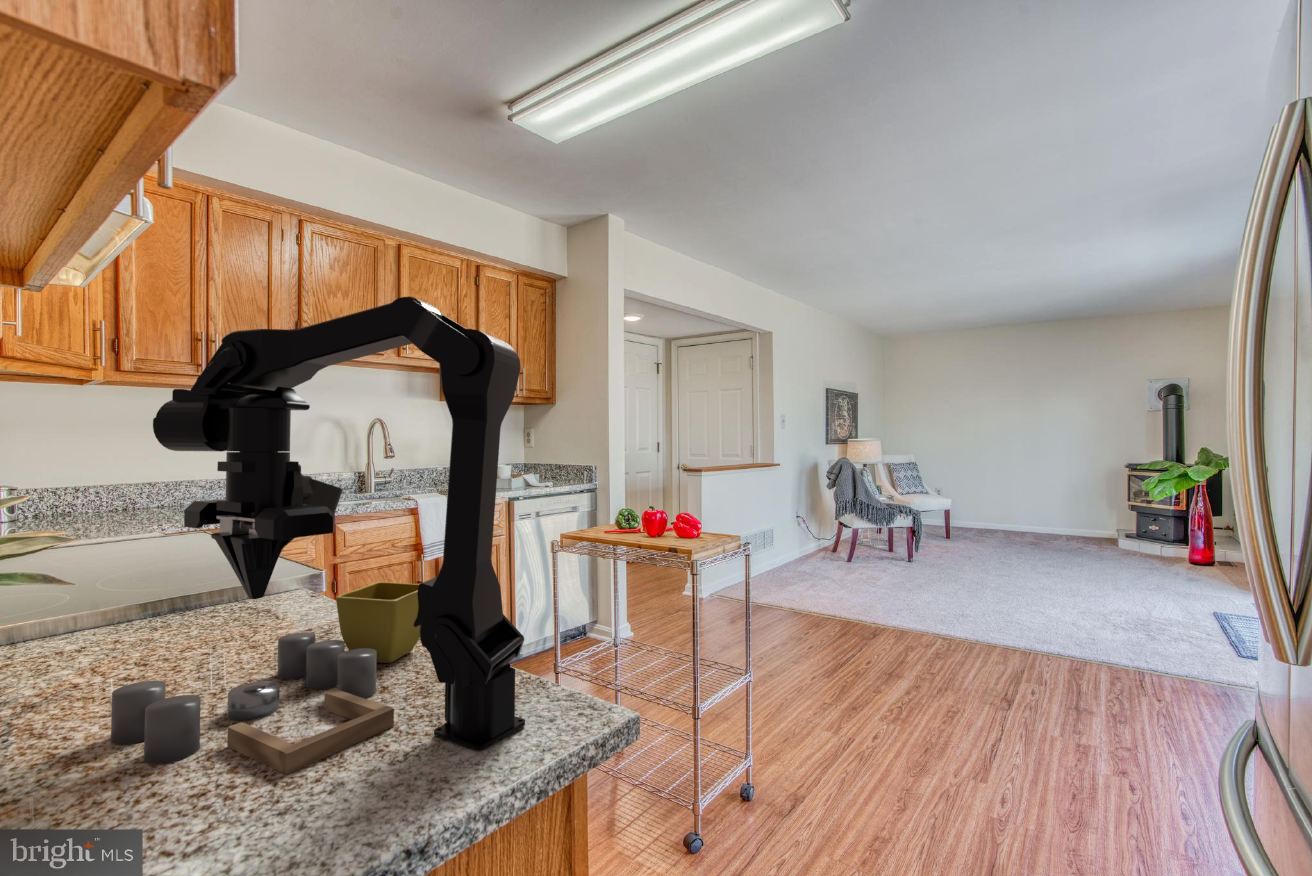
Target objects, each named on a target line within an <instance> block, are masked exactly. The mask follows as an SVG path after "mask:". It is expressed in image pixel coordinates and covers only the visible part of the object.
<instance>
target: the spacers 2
mask: <svg viewBox="0 0 1312 876" xmlns="http://www.w3.org/2000/svg"><path fill="white" fill-rule="evenodd" d="M345 650H346V644H345V642H344V640H340V639H329V640H328V639H327V640H321V641H316V633H315V632H308V631H307V632H306V631H305V632H304V631H303V632H294V633H289V634H286V635H282V636H281V637H278V640H277V678H278V679H279V680H284V681H285V680H286V681H287V680H291V681H292V680H298V679H303V678H305V688H307V689H308V690H313V691H319V690H327V689H331V688H334V687H337V688H336V689H337V690H340V691H343V692H346V693H349V694H352V695H355V696H358V697H361V698H364V699H367V698H369V697H372V696H373V695H374V694H375V693H376V692H377V662H376V657H377V651H376V650H374V649H370V648H360V649H353V650H349V649H348V650H346V651H345Z"/></svg>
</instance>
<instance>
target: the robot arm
mask: <svg viewBox="0 0 1312 876" xmlns="http://www.w3.org/2000/svg"><path fill="white" fill-rule="evenodd" d="M412 344H413V345H414V346H415V347H416V348H417V349H418V350H419V351H421V352H422V353H423V354H425V355H426V356H427V357H429V358H430V359H432V360H434V361H436V362H437V363H439V364H438V365H439V373H440V374H439V376H440V386H441V387H440V388H441V392H442V395H443V397H444V400H445V403H446V407H447V409H448V412H449V414H450V417H451V422H452V427H451V429H452V430H451V438H450V439H451V440H450V453H449V454H450V456H449V458H450V459H449V468H448V481H447V483H448V485H447V496H446V497H447V499H446V510H445V511H446V513H445V526H444V541H443V552H442V553H443V554H442V563H441V567H440V569H439V571H438V573H437V576H435V577H433V578H430V579H429V580H428V579H427V580H425V581H424V582H421V583H418V584H419V587H418V593H417V595H418V614H417V618H416V620H415V622H414V627H417V626H419V625H420V638H419V639H420V643H421V646H422V647H423V648H425V649H426V650H427V651H428V653H429V655H430V658H431V662H432V664H433V668H434V671H435V675H436V677H437V681H438V682H439V683H442V684H445V685H444V686H445V687H444V689H445V691H444V722H446V723H443V724H442V725H440V726H438V727H436V728H434V729H433V735H434V736H435V737H438V738H440V739H443V740H447V741H449V742H451V743H455V744H458V745H460V746H464V747H466V748H469V749H472V750H475V751H482V750H485V749H487V748H488V747H490V746H492V745H493V744H495V743H497V742H498V741H500V740H503V739H504V738H505V737H508V736H510V734H512V733H515V732H516V731H518V730H520V729H521V728H523V727H525V725H526V719H525V718H523V717H518V716H515V715H516V712H515V711H516V668H515V667H511V663H510V662H511V661H512V660H513V659H515V658H517V657H518V656H519V655H520V653H521V651H522V648H523V645H524V642H525V636H524V635H523V634H522V633H521V632H520V631H519V630H518V629H517V628H516V627H515V625H514V624H513V623H512V622H511V620H510V619H509V618H508V617H507V616H506V615H505V614H504V612H503V601H502V592H501V590H502V588H501V584H500V582H499V579H498V577H497V574H496V571H495V569H494V566H493V561H492V555H493V553H492V552H493V541H494V540H493V538H494V526H495V525H494V523H495V514H496V513H495V511H496V500H497V499H496V498H497V497H496V496H497V485H498V483H497V481H498V472H499V471H498V469H499V455H500V440H501V427H502V423H503V421H504V419H505V417H506V416H507V413H508V411H509V409H510V407H511V404H512V403H513V401H514V397H515V394H516V391H517V387H518V381H519V378H520V373H521V359H520V357H519V354H518V353H517V351H516V350H515V349H514V348H513V346H512V345H510V344H509V343H507V342H505V340H504V341H503V340H501V339H499V338H497V337H494V336H492V335H490V334H487V333H485V332H484V331H481V330H478V329H472V328H467V327H465V326H463V325H461V324H459V323H458V322H456V321H454V320H452V319H451V318H449V317H448V316H446V315H445V314H443V313H442V312H440V310H439V309H438V308H437V307H435V306H434V305H432V304H430V303H427V302H425V301H422V300H421V299H419V298H416V297H413V296H401V297H398V298H396V299H395V300H393V301H392V302H390V303H386V304H383V305H379V306H375V307H371V308H368V309H364V310H361V311H357V312H353V313H350V314H345V315H343V316H342V315H341V316H340V317H336V318H332V319H329V320H325V321H321V322H319V323H318V322H317V323H315V324H310V325H307V326H304V327H303V326H302V327H300V328H291V329H290V328H289V329H282V328H281V329H278V328H256V329H255V328H254V329H245V330H244V329H243V330H235V331H231V332H230V333H228V334H225V336H223V337H222V338H221V344H220V345H219V347H218V348H217V350H216V351H215V352H214V354H213V355H212V357H211V358H210V360H209V361H208V362H207V365H206V366H205V367H204V369H203V371H201V373H200V375H199V376H197V378H196V381H195V383H194V384H193V385H192V387H191V389H185V388H174V389H172V393H171V394H172V397H171V400H169V401H167V402H165V403H164V404H163V405H161V406H160V408H159V409H158V411H157V412H156V415H155V417H154V418H153V419H152V429H153V433H154V436H155V438H156V441H158V443H159V444H160V445H162V446H163V447H164V448H165V449H167V450H170V451H173V452H226V455H225V457H226V461H225V460H224V461H217V468H216V469H217V472H225V498H224V499H209V500H208V499H207V500H194V501H192V502H191V504H189V505H188V506H187V507H186V508H185V509H184V515H183V517H184V518H183V519H184V520H183V521H184V522H183V527H184V528H192V529H202V528H203V526H208V525H209V526H210V525H218V524H219V532H213V533H210V537H211V539H213V540H215V542H216V543H217V545H218V547H219V548H220V550H221V552H222V553H223V555H224V557H225V558H226V560H227V562H228V563H229V565H230V567H231V568H232V570H233V572H234V573H235V575H236V577H237V580H238V582H240V584H241V586H242V589H243V590H244V591H245V594H246V596H247V597H248V598H249V599H251V600H259V599H262V598H263V597H264V596H265V594H266V590H267V589H268V586H269V583H270V581H271V578H272V575H273V572H274V570H275V567H276V564H277V562H278V560H279V557H280V555H281V553H282V551H283V549H284V548H285V547H287V546H288V544H290V543H291V542H292V541H293V540H295V539H297V538H298V539H299V538H306V537H312V536H320V535H329V534H334V533H335V532H336V511H337V507H338V505H339V502H340V500H341V496H342V493H343V490H344V489H343V488H342V487H338V486H336V485H333V484H329V483H326V482H323V481H321V480H317V479H314V478H313V477H312V476H310V475H303V473H302V466H301V464H299V461H293V460H291V418H292V416H291V415H292V414H291V413H292V411H308V410H309V409H310V408H311V406H310V404H309V403H308V402H307V401H306V400H305V399H303V398H302V397H301V396H300V395H299V394H298V393H297V392H296V390H295V389H294V388H295V387H297V386H299V385H302V384H304V383H306V382H309V381H310V380H312V378H314V376H315V375H316V374H317V373H318V372H319V371H321V370H323V369H325V368H327V367H329V366H330V367H331V366H333V365H338V364H343V363H345V362H349V361H352V360H356V359H360V358H365V357H367V356H370V355H374V354H375V355H376V354H379V353H383V352H386V351H390V350H393V349H394V350H395V349H397V348H401V347H404V346H409V345H412Z"/></svg>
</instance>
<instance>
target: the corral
mask: <svg viewBox="0 0 1312 876" xmlns="http://www.w3.org/2000/svg"><path fill="white" fill-rule="evenodd" d="M323 698H324V699H323V702H324V703H323V704H324V705H323V707H324V708H323V709H324V710H325V711H327V712H330V713H333V714H336V715H338V716H341V717H344V718H347V719H349V720H348V721H347V722H343V723H341V724H339V725H337V726H334V727H331V728H329V729H328V730H324V731H322V732H320V733H317V734H315V735H312V736H310V737H308V738H305V739H303V740H300V741H298V742H296V743H294V744H293V743H292V742H288V741H287V740H284V739H282V738H280V737H277V736H274V735H272V734H270V733H268V732H266V731H264V730H261V729H258V728H257V727H254V726H251V725H250V724H247V723H245V722H244V721H243V722H238V723H235V724H233V725H230V726H227V748H230V749H232V750H234V751H236V752H238V753H240V754H242V755H243V756H244V755H245V756H247V757H249V758H250V759H253V760H255V761H257V762H259V763H262V764H263V765H265V766H268V767H270V768H271V769H274V770H276V771H278V772H280V773H282V774H283V775H284V774H285V776H286V775H289V774H292V773H293V772H296V771H298V770H300V769H302V768H305V767H307V766H309V765H312V764H314V763H315V762H317V761H320V760H322V759H324V758H326V757H328V756H329V757H330V756H331V755H333V754H336V753H338V752H340V751H342V750H345V749H347V748H349V747H351V746H354V745H355V744H357V743H361V742H362V741H365V740H367V739H369V738H371V737H373V736H376V735H378V734H380V733H382V732H384V731H386V730H389V729H391V728H393V727H394V726H395V709H394V707H391V706H388V705H384V704H383V703H378V702H376V701H372V700H371V699H367V698H361V697H358V696H355V695H352V694H349V693H346V692H343V691H340V690H337V688H333V689H331V690H328V691H326V692H324V695H323Z"/></svg>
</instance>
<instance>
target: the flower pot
mask: <svg viewBox="0 0 1312 876" xmlns="http://www.w3.org/2000/svg"><path fill="white" fill-rule="evenodd" d="M419 584H420V583H406V582H390V581H388V582H387V581H377V582H374V583H370V584H367V585H366V586H363V587H360V588H357V589H354V590H350V591H348V592H345V593H342V594H340V595H337V596H336V597H335V601H336V610H337V616H338V617H337V618H338V622H339V629H340V633H341V638H342V641H344V642H345V647H346V648H347V649H348V650H353V649H360V648H370V649H374V650H376V651H377V657H376V663H381V664H382V663H383V664H390V663H393V662H394V661H396V660H399V659H400V658H401V657H403V656H405V655H407V654H409V653H410V652H412V651H413V649H414V648H415V647H416V645H417V643H418V642H419V639H420V625H419V626H417V627H414V622H415V620H416V618H417V614H418V595H417V593H418V587H419Z"/></svg>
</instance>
